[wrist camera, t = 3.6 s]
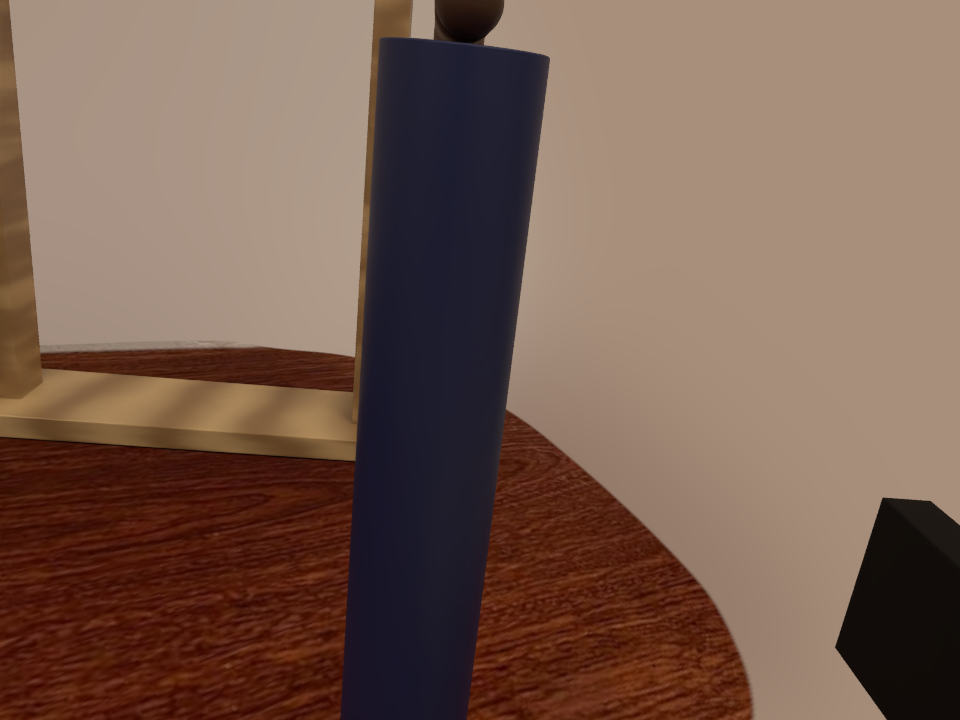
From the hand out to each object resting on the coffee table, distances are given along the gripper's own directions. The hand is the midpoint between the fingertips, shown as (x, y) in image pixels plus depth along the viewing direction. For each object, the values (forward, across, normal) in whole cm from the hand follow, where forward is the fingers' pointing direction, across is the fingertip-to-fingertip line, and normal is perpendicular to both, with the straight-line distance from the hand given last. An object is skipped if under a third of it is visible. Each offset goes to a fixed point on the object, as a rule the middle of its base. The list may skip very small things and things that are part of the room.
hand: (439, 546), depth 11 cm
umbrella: (+13, 0, -17) cm, 21 cm away
